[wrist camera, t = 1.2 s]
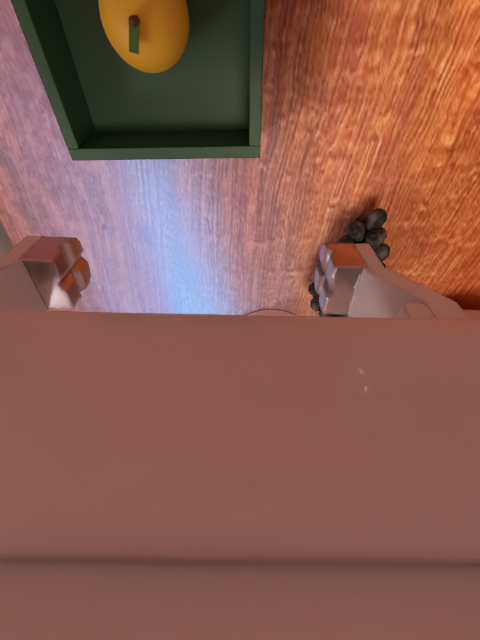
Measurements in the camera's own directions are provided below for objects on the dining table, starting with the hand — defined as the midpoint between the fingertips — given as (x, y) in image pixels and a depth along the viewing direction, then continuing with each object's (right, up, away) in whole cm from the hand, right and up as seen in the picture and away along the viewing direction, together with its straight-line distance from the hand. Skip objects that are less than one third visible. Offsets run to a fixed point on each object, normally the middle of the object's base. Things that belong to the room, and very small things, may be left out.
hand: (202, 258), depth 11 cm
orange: (-5, +20, +12) cm, 24 cm away
